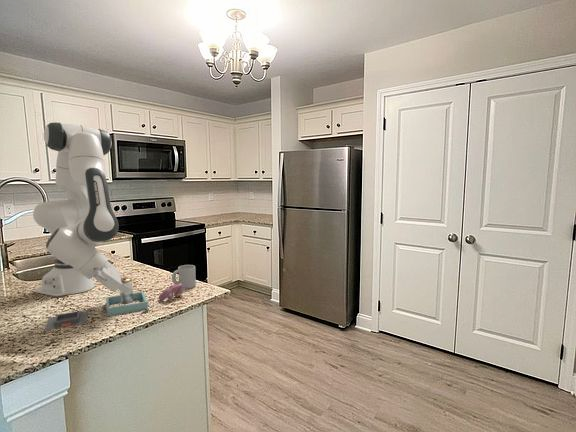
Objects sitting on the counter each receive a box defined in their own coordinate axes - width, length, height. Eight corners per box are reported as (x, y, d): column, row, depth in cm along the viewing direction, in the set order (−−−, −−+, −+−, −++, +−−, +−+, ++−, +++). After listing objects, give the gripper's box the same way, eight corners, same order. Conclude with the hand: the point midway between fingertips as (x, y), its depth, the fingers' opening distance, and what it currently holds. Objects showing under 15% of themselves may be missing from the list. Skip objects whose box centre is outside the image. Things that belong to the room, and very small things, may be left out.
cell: (118, 303, 113) (116, 279, 112) (125, 299, 117) (124, 276, 116) (128, 304, 112) (126, 279, 111) (135, 300, 116) (134, 276, 115)
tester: (44, 335, 96) (43, 327, 96) (49, 321, 105) (48, 314, 105) (87, 327, 102) (86, 319, 101) (88, 314, 111) (87, 307, 111)
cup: (196, 287, 139) (196, 268, 139) (172, 290, 136) (171, 270, 135) (195, 283, 146) (194, 264, 145) (172, 285, 142) (171, 266, 142)
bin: (107, 320, 106) (106, 309, 106) (106, 307, 117) (106, 297, 117) (148, 312, 113) (147, 301, 112) (143, 301, 124) (143, 291, 123)
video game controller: (163, 306, 123) (168, 292, 121) (156, 299, 125) (161, 285, 122) (184, 298, 131) (188, 284, 129) (177, 291, 133) (181, 278, 131)
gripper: (102, 265, 100) (137, 289, 106) (101, 253, 118) (131, 274, 124) (86, 280, 99) (123, 304, 105) (88, 266, 116) (119, 287, 122)
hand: (128, 288), depth 114 cm, fingers closed on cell, 4 cm apart
